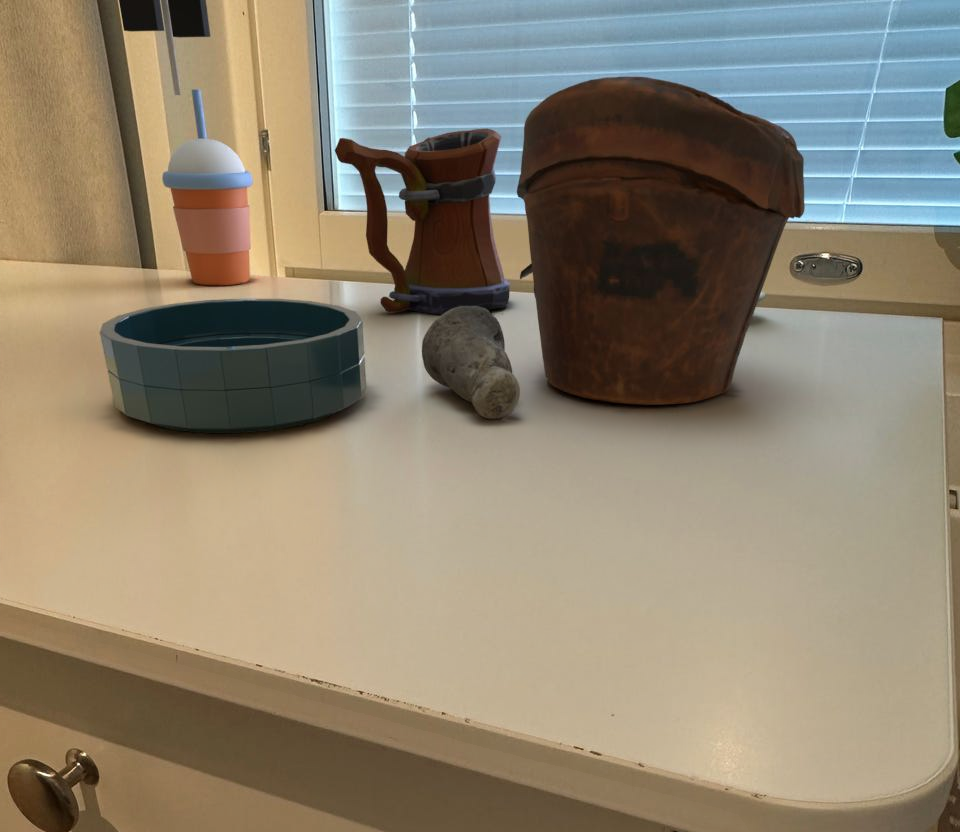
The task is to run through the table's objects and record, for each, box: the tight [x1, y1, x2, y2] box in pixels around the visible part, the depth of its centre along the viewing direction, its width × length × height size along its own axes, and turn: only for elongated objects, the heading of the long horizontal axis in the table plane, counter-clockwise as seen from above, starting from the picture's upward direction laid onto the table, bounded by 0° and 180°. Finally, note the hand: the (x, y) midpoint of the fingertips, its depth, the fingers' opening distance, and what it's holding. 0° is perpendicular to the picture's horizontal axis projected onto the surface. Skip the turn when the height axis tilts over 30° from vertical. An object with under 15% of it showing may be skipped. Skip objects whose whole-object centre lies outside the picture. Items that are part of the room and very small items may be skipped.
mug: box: [334, 128, 511, 315], centre depth 81 cm, size 18×12×15 cm, turn 132°
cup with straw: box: [161, 88, 254, 286], centre depth 93 cm, size 9×9×18 cm
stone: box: [421, 306, 521, 420], centre depth 57 cm, size 10×6×8 cm
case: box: [516, 76, 806, 406], centre depth 58 cm, size 18×20×18 cm
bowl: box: [99, 297, 367, 434], centre depth 56 cm, size 16×16×5 cm
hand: (168, 33), depth 62 cm, fingers closed on lollipop, 5 cm apart
